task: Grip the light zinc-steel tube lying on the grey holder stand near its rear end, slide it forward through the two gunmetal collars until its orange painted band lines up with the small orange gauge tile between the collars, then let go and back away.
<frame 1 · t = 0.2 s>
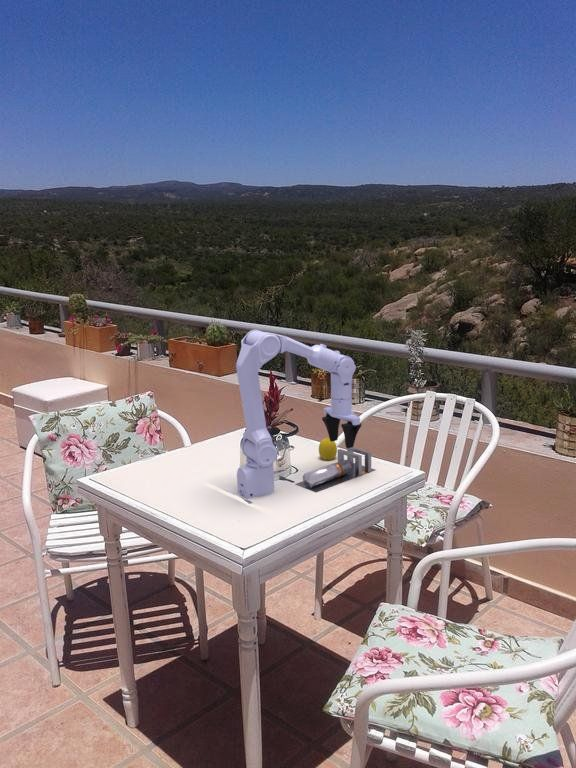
hand: (341, 444, 185), 10 cm above the table, tool pointing down, fingers open, 7 cm apart
lemon: (328, 462, 200), on the table
grey holder stand: (337, 480, 185), on the table
tube: (336, 477, 184), point 1 cm above the table, touching grey holder stand
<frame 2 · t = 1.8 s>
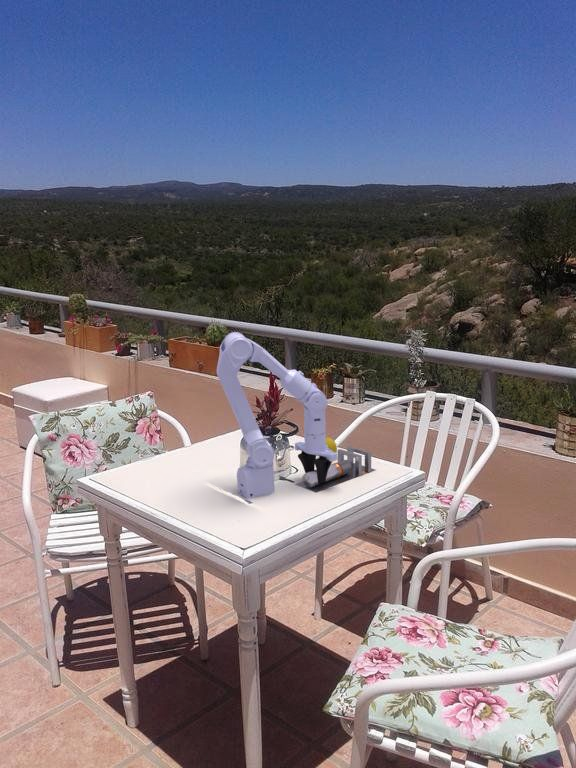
hand: (316, 480, 179), 2 cm above the table, tool pointing down, fingers closed on tube, 4 cm apart
tube: (336, 477, 184), point 1 cm above the table, touching grey holder stand, gripper
everything else where it was.
when the fingers open (2 cm above the table, at t = 5.4 s): tube stays where it is, resting on grey holder stand.
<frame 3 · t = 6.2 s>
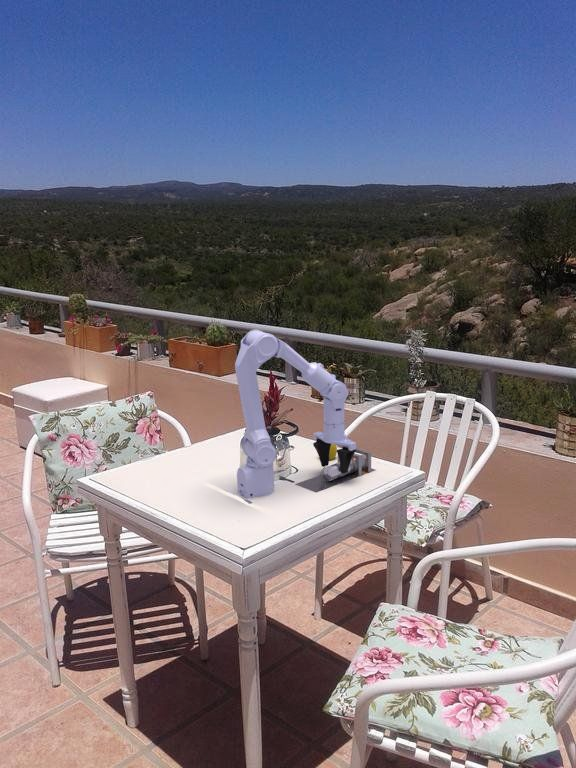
hand: (334, 469, 183), 4 cm above the table, tool pointing down, fingers open, 7 cm apart
tube: (352, 470, 189), point 1 cm above the table, tilted 15°, touching grey holder stand
everything else where it was.
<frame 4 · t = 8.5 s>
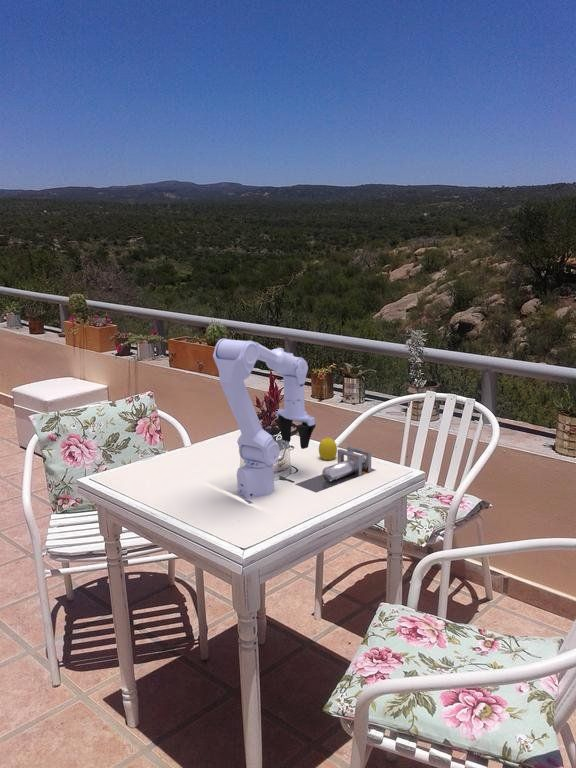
hand: (295, 445, 187), 9 cm above the table, tool pointing down, fingers open, 7 cm apart
tube: (352, 470, 188), point 1 cm above the table, tilted 24°, touching grey holder stand
everything else where it was.
at the end: tube 0.8 cm from the target spot on the grey holder stand, point 1.4 cm above the grey holder stand's base; tube point 1.4 cm above the table; the gripper is holding nothing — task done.
